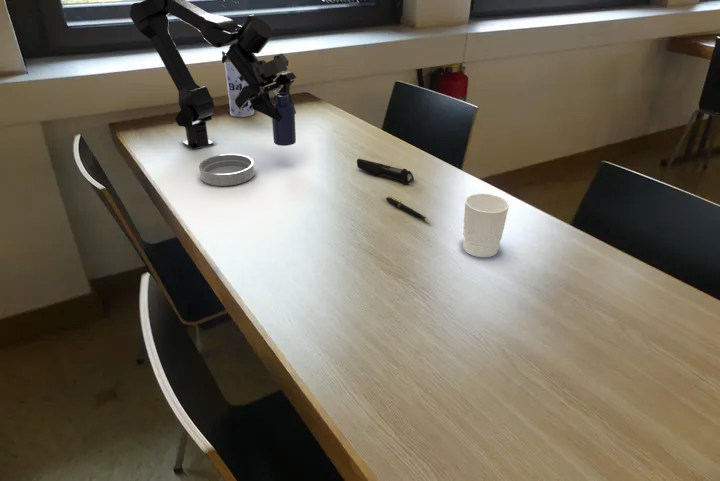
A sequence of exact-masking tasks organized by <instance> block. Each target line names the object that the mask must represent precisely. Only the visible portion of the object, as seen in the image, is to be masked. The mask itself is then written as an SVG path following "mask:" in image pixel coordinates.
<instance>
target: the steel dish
mask: <svg viewBox="0 0 720 481" xmlns="http://www.w3.org/2000/svg"><path fill="white" fill-rule="evenodd" d="M198 171H199V176H200V179H201V181H202V182H204V183H205V184H208V185H212V186H217V187H219V186H220V187H230V186H236V185H240V184H243V183H245V182H248V181H249V180H251V179H252V178H253V177H254V176H255V173H256V172H255V161H254V160H253V158H251V157H250V156H247V155H243V154H237V153H226V154H225V153H224V154H218V155H213V156H210V157H208V158H204V159H203V160H202V161H201V162H199V165H198Z"/></svg>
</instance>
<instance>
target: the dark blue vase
mask: <svg viewBox="0 0 720 481" xmlns="http://www.w3.org/2000/svg"><path fill="white" fill-rule="evenodd" d="M272 104H273V105H274V107H275V108H276V110H277V111H278V112H279V114H280V116H281V118H282V120H281V121H280V122H278V121H276V120H275V119H273V118H271V121H272V122H271V123H272V136H273V144H275V145H277V146H282V147H286V146H292V145H294V144H296V141H297V136H296V134H297V132H296V114H295V111H296V109H295V110H294V108H295V104H294V102H293V103H291V102H289V94H287V93H278V94H276V101H275V102H272Z"/></svg>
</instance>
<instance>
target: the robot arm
mask: <svg viewBox="0 0 720 481" xmlns="http://www.w3.org/2000/svg"><path fill="white" fill-rule="evenodd" d="M170 14H171V15H172V16H174V17H176V18H177V19H179V20H180V21H182V22H184V23H185V24H188V25H190V26H191V27H193V28H194V29H196V30H197V31H198V32H200V34H201V36H202V38H203V39H204V40H205V41H206V42H207V43H209V44H210V45H211V46H212V47H214V48H219V49H220V48H223V47H227V46H229V47H228V48H227V49H226V50H222V51H221V63H222V64H225V63H226V62H229V61H230V62H231V63H232V64H233V66H234V67H235V68H236V69H237V71H238V72H239V73H240V75H241V76H240V78H239V79H240V81H241V82H242V81H246V83H247V84H248V86H245V87H243V88H242V90H241V91H240V92H239V93H238V95H237V96H236V97H235V104H236V105H237V107H238V108H239V109H240V110H241V109H243V108H246V107H247V106H248V100H250V103H251V105H250V106H249V108H250V109H253V110H254V111H256V112H259V113H261V114H263V115H264V116H267V117H269V118H271V119H272V118H273V119H275V120H276V121H278V122H280V121H281V120H282V118H281V116H280V114H279V112H278V111H277V110H276V108H275V107H274V105H273V102H272V100H274V101H275V102H276V94H278V93H287V94H289V102H291V103H293V104H294V102H293V100H292V97H291V92H290V90H291V86H292V85H293V84H294V83H295V82H296V80H297V79H298V78H297V76H296V75H295V73H293V71H289V70H288V66H289V60H288V59H287V57H286V56H285V55H284V53H278V54H276V55H274V56H273V59H271V60H269V61H266V60H264V59H261V60H259V58H258V57H257V56H256V55H255V54H259V53H261V52H262V50H264V47H265V46H266V45H267V44H268V43H269V41H270V40H271V39H272V38H273V36H274V32H273V28H272V27H271V25H270V24H269V23H267V22H265V21H264V20H263V19H261V18H258V17H257V16H256V15H255V14H249V15H248V16H247V17H246V18H245V21H244V23H243V24H242V25H240V24H238V23H237V21H235V20H233V19H232V18H229V17H225V16H223V15H216V14H212V13H209V12H207V11H206V10H204V9H202V8H201V7H198V6H197V5H195V4H193V3H192V2H190V1H188V0H142V1H138V2H133V3H132V4H131V5H130V10H129V16H130V19H131V21H132V22H133V24H134V26H135V28H137V30H138V31H139V32H140V33H141V34H142V35H143V36H145V37H146V38H148V39H149V40H150V41H151V43H152V45H153V47H154V48H155V50H156V52H157V54H158V55H159V58H160V60H161V61H162V63H163V65H164V67H165V69H166V71H167V73H168V75H169V77H170V78H171V80H172V82H173V84H174V86H175V88H176V90H177V91H178V100H177V101H178V106H179V108H180V111H179V112H178V114H176V116H175V122H176V124H177V126H179V127H183V128H184V129H185V136H186V140H183V141H182V144H184V145H185V146H187V147H188V148H190V149H192V150H196V149H199V148H200V149H201V148H203V147H208V146H212V145H214V141H212V140H211V139H209V134H208V128H207V122H209V121H212V120H213V115H214V111H215V103H214V98H213V97H212V95H211V94H210V92H209V89H208V87H206V86H202V87H201V86H200V85H198V84H197V83H196V82H195V79H194V78H193V76H192V74H191V72H190V70H189V68H188V66H187V65H186V62H185V61H184V59H183V57H182V55H181V53H180V51H179V49H178V48H177V46H176V44H175V42H174V40H173V38H172V36H171V34H170V31H169V28H170V27H169V26H170V25H169V22H170V20H169V18H168V16H169V15H170ZM279 73H280V74H279ZM278 74H279V75H278ZM271 92H272V93H273V95H274V96H273V97H272V100H271V99H270V93H271ZM294 110H295V115H296V114H297V110H296V109H295V107H294Z"/></svg>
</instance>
